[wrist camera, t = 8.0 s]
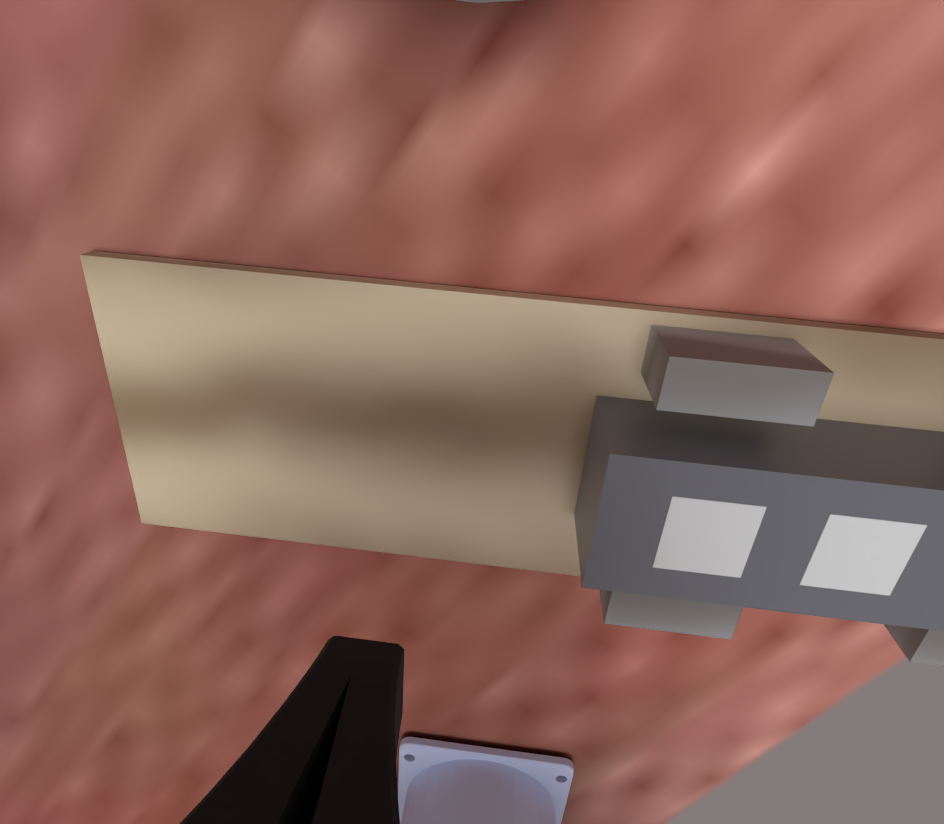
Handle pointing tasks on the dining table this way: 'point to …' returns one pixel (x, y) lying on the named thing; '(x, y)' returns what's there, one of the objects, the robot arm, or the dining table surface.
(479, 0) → the food container
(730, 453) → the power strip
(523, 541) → the mount
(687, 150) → the dining table surface
